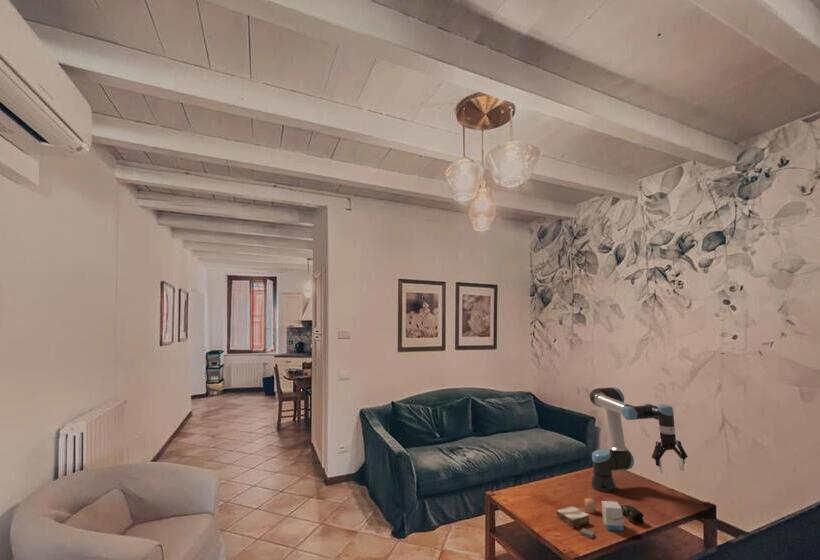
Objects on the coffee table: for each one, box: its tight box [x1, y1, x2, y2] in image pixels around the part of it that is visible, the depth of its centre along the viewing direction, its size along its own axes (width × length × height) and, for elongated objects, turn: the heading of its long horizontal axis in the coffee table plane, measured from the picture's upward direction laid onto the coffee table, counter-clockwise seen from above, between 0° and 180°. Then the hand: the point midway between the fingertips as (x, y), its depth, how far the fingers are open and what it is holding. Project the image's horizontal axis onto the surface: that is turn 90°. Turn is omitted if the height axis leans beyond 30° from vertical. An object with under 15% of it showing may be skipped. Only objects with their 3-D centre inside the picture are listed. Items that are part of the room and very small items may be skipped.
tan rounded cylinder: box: [584, 497, 597, 514], centre depth 230 cm, size 6×6×6 cm
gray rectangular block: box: [579, 528, 596, 539], centre depth 205 cm, size 6×4×2 cm, turn 40°
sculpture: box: [620, 504, 645, 525], centre depth 220 cm, size 13×6×7 cm, turn 13°
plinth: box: [556, 505, 590, 529], centre depth 220 cm, size 12×12×4 cm
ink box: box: [601, 500, 625, 532], centre depth 213 cm, size 8×8×12 cm
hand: (670, 471), depth 221 cm, fingers open, 13 cm apart
